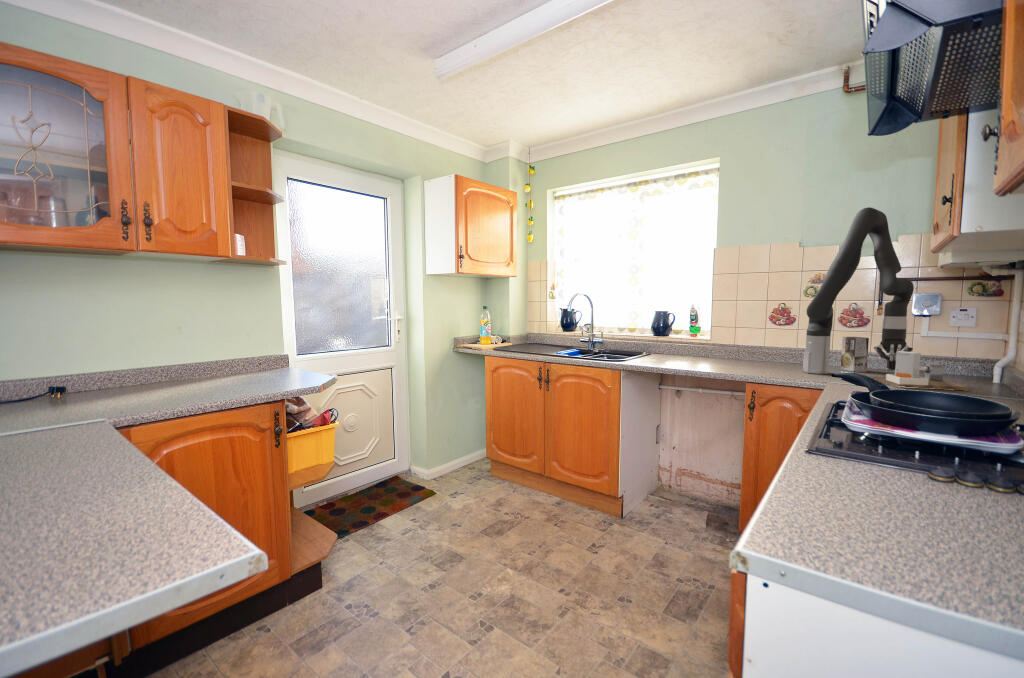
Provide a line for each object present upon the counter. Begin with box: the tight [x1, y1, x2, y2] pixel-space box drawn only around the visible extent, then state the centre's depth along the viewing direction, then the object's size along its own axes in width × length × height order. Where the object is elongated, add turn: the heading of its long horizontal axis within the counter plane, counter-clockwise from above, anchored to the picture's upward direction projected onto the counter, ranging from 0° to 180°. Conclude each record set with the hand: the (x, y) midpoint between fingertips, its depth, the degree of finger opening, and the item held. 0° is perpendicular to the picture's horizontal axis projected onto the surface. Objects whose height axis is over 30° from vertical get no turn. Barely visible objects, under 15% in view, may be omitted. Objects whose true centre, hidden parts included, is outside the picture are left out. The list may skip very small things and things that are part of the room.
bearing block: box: [922, 362, 945, 381], centre depth 180 cm, size 4×5×6 cm
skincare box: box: [894, 350, 922, 378], centre depth 173 cm, size 6×4×12 cm
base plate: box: [873, 376, 970, 392], centre depth 177 cm, size 22×18×2 cm
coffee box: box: [840, 336, 870, 373], centre depth 214 cm, size 9×6×16 cm
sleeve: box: [885, 373, 929, 385], centre depth 174 cm, size 9×9×2 cm
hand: (891, 369), depth 183 cm, fingers closed
